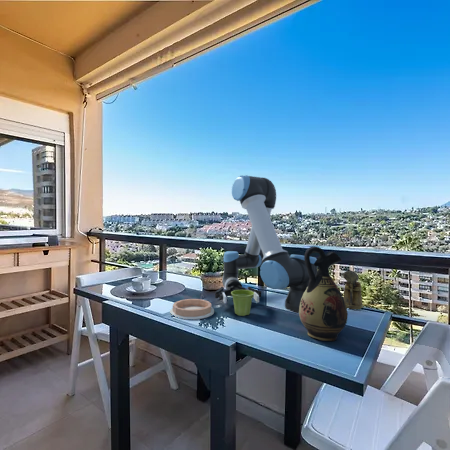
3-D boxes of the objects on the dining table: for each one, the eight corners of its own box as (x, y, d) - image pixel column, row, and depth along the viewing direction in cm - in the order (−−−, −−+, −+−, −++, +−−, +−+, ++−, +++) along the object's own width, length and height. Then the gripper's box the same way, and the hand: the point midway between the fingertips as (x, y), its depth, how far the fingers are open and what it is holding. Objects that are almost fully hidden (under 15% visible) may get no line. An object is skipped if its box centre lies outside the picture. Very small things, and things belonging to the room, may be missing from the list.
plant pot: (252, 318, 113) (253, 296, 113) (228, 316, 115) (229, 294, 115) (254, 311, 122) (255, 290, 122) (232, 309, 124) (233, 289, 124)
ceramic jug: (335, 326, 106) (337, 245, 105) (355, 345, 91) (358, 250, 90) (288, 326, 106) (290, 244, 105) (301, 345, 90) (303, 249, 89)
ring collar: (222, 310, 123) (222, 302, 123) (196, 322, 108) (196, 314, 107) (189, 302, 132) (189, 295, 132) (160, 313, 117) (160, 305, 117)
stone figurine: (337, 310, 125) (338, 268, 125) (343, 302, 136) (344, 264, 136) (359, 314, 120) (361, 271, 120) (364, 306, 132) (365, 266, 131)
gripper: (258, 294, 141) (271, 308, 120) (207, 295, 138) (211, 309, 117) (259, 278, 141) (271, 289, 120) (207, 279, 138) (211, 290, 116)
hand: (241, 299), depth 118 cm, fingers open, 13 cm apart
